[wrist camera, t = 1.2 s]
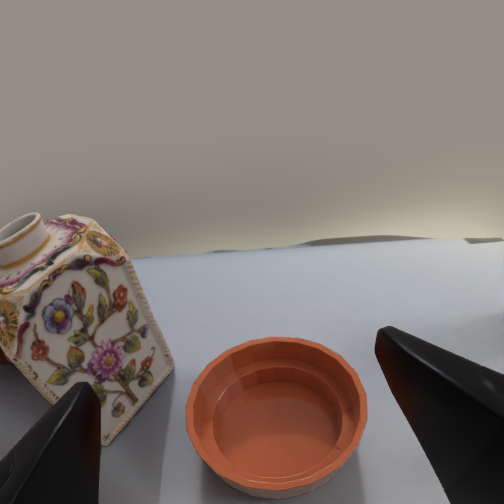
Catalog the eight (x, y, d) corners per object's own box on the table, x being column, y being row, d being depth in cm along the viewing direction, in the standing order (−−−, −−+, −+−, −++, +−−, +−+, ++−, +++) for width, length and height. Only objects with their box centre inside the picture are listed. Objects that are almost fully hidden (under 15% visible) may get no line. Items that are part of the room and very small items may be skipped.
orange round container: (380, 446, 18) (402, 421, 15) (243, 523, 14) (231, 520, 11) (302, 354, 27) (303, 315, 24) (184, 406, 23) (165, 373, 20)
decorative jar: (107, 452, 19) (-39, 301, 9) (45, 388, 24) (-50, 254, 14) (181, 364, 27) (115, 190, 17) (110, 324, 32) (49, 186, 22)
